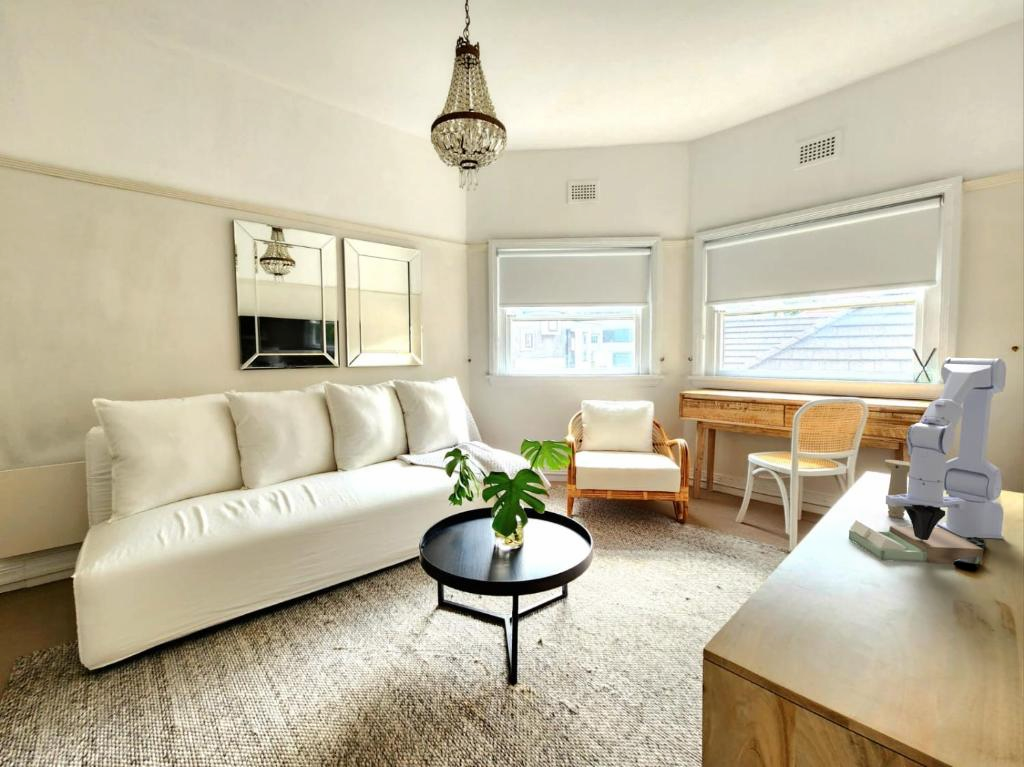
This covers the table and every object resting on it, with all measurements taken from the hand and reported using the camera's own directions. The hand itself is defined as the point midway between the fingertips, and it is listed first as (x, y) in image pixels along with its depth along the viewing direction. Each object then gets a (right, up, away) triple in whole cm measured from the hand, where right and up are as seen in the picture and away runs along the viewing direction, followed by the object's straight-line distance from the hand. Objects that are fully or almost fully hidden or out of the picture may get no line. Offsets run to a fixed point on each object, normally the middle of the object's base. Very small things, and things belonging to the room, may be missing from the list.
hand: (921, 538), depth 100 cm
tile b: (-7, 0, +1) cm, 7 cm away
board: (+5, -4, +2) cm, 7 cm away
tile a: (-7, 0, +6) cm, 9 cm away
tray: (-5, -4, +3) cm, 7 cm away
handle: (+14, -2, +23) cm, 27 cm away
